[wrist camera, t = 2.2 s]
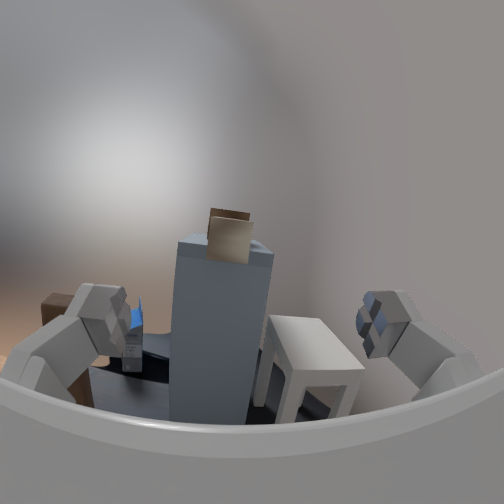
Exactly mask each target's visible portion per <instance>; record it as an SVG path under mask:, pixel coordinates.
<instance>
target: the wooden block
mask: <svg viewBox="0 0 504 504" xmlns="http://www.w3.org/2000/svg"><path fill="white" fill-rule="evenodd" d="M73 298H74V296H73V295H64V294H57V293H52V294H51V295H50V296H49V297H48V298H47V299H46V300H44V301H43V303H42V304H41V313H42V323H43V326H44V325H46V324H47V323H49V322H50V321H52V320H53V319H55V318H56V317H58V316H59V315H64V314H65V312H66V310H67V308H68V307H69V305H70V303H71V301H72V300H73ZM67 390H68V391H69V392H70V394H71V395H72V396H73V397H74V398H75V400H76V404H78V405H82V406H86V407H90V408H94V403H93V397H92V391H91V385H90V378H89V371H88V368H87V369H86V370H85V371H84V372H83V373H82V374H81V375H80V376H79V377H78V378H77V379H76V380H75V381H74V382H73V383H72V384H71V385H70V386H69V387H68V388H67ZM94 409H95V408H94Z"/></svg>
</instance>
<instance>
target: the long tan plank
mask: <svg viewBox="0 0 504 504" xmlns="http://www.w3.org/2000/svg"><path fill="white" fill-rule="evenodd" d="M249 217H250V213H245V212H237V211H230V210H223V209H215V208H211V211H210V218H209V225H208V234H207V239H208V245H207V253H206V259H210V260H218V261H226V262H233V263H241V264H248V258H249V251H250V244H251V237H252V230H253V222H249Z"/></svg>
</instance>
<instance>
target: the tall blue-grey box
mask: <svg viewBox="0 0 504 504" xmlns="http://www.w3.org/2000/svg"><path fill="white" fill-rule="evenodd" d="M207 245H208V239H207V234H201V233H194V234H192V235H190V236H188V237H186V238H184V239H182V240H180V241H179V242H178V249H177V259H176V269H175V281H174V292H173V305H172V321H171V339H170V368H169V421H171V422H182V423H194V424H213V425H245V422H246V417H247V411H248V406H249V401H250V395H251V390H252V384H253V379H254V373H255V368H256V362H257V356H258V350H259V345H260V339H261V333H262V327H263V320H264V315H265V309H266V303H267V296H268V290H269V283H270V278H271V271H272V264H273V258H274V254H273V253H272V252H271V251H269V250H268V249H267V248H266V247H264V246H263V245H262V244H260V243H259V242H258V241H253V240H251V244H250V251H249V258H248V264H241V263H233V262H226V261H218V260H210V259H206V253H207Z"/></svg>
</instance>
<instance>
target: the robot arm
mask: <svg viewBox="0 0 504 504" xmlns="http://www.w3.org/2000/svg"><path fill="white" fill-rule="evenodd" d="M126 296H127V295H126V292H125V289H124V288H123V287H122V286H112V285H103V284H90V283H83V284H82V285H81V286H80V288H79V289H78V291H77V293H76V294H75V296H74V298H73V300H72V301H71V303H70V305H69V307H68V308H67V310H66V312H65V314H64V315H59V316H58V317H56V318H55V319H53V320H52V321H50V322H49V323H47V324H46V325H44V326H43V327H42V328H40V329H39V330H37V331H36V332H34V333H33V334H32V335H30V336H29V337H27V338H26V339H25V340H23V341H22V342H20V343H19V344H18V345H16V346H15V347H13V349H12V351H11V353H10V355H9V357H8V359H7V361H6V363H5V365H4V367H3V369H2V371H1V373H0V504H504V367H503V368H501V369H499V370H497V371H495V372H493V373H491V374H488V375H486V376H485V374H484V372H483V370H482V369H481V367H480V365H479V363H478V361H477V360H476V358H475V356H474V354H473V352H472V351H471V350H470V349H468V348H467V347H466V346H464V345H463V344H461V343H460V342H459V341H457V340H456V339H454V338H453V337H451V336H450V335H449V334H447V333H446V332H444V331H443V330H441V329H440V328H438V327H437V326H435V325H434V324H432V323H431V322H430V321H428V320H424V319H423V318H422V316H421V314H420V312H419V311H418V309H417V308H416V306H415V304H414V303H413V301H412V300H411V298H410V297H409V295H408V294H407V292H406V291H405V290H392V291H368V292H367V293H366V294H365V296H364V298H363V302H364V304H365V305H364V306H362V307H361V308H360V309H359V311H358V314H357V316H356V327H357V331H358V334H359V335H360V336H361V337H362V338H364V342H363V347H364V349H365V352H366V355H367V357H368V359H371V358H380V357H388V358H389V359H390V360H391V361H392V362H393V363H394V364H395V365H396V366H397V367H398V368H399V369H400V370H401V371H402V372H403V373H404V374H405V375H406V376H407V377H408V378H409V379H410V380H411V381H412V382H413V383H414V384H415V385H416V386H417V387H418V388H419V389H420V390H419V391H418V392H417V393H416V394H415V395H414V396H413V398H412V402H410V403H407V404H403V405H399V406H395V407H391V408H386V409H382V410H378V411H373V412H368V413H363V414H357V415H352V416H346V417H340V418H333V419H325V420H317V421H308V422H298V423H285V424H267V425H213V424H194V423H182V422H171V421H162V420H154V419H147V418H140V417H134V416H128V415H123V414H118V413H113V412H108V411H103V410H99V409H94V408H90V407H86V406H82V405H78V404H76V400H75V398H74V397H73V396H72V395H71V394H70V392H69V391H68V390H67V388H68V387H69V386H70V385H71V384H72V383H73V382H74V381H75V380H76V379H77V378H78V377H79V376H80V375H81V374H82V373H83V372H84V371H85V370H86V369H87V368H88V367H89V366H90V365H91V364H92V363H93V362H94V361H95V360H96V358H98V357H99V355H104V356H112V357H120V358H121V356H122V352H123V349H124V346H125V343H126V342H125V339H124V336H125V335H126V334H127V333H129V330H130V327H131V319H132V316H131V309H130V306H129V305H128V304H127V303H126V302H125V299H126Z"/></svg>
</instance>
